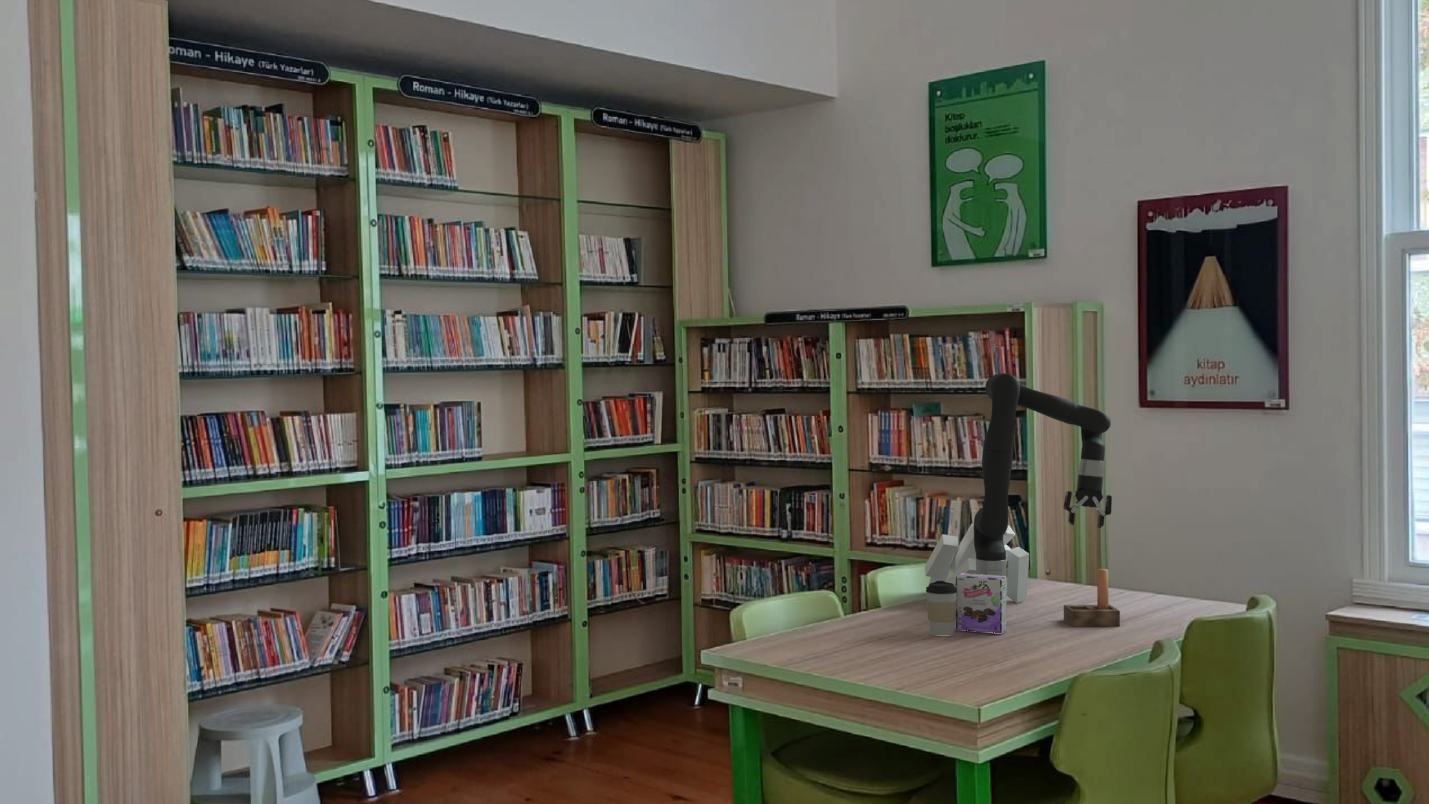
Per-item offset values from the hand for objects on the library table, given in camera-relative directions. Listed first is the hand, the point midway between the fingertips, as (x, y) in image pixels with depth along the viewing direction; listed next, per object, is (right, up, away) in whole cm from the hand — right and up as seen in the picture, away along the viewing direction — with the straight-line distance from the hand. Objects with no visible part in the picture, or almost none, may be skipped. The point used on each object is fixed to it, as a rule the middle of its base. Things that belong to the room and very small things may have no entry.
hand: (1085, 526), depth 391 cm
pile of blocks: (-30, -27, +23) cm, 46 cm away
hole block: (-3, -28, -15) cm, 31 cm away
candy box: (-38, -28, -25) cm, 54 cm away
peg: (+1, -28, -15) cm, 31 cm away
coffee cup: (-50, -29, -29) cm, 64 cm away
